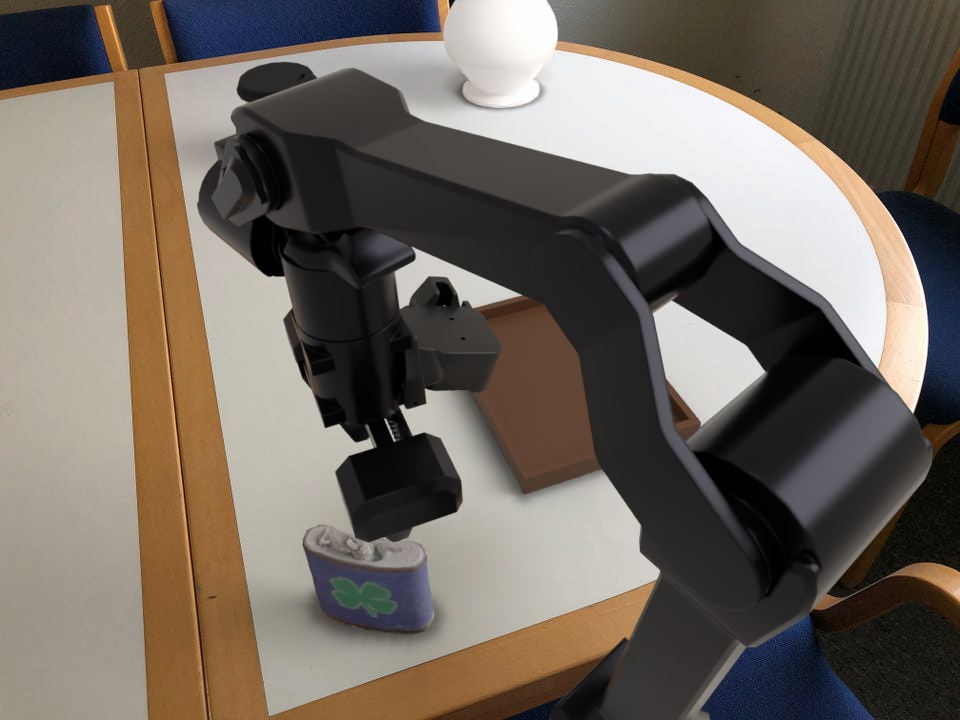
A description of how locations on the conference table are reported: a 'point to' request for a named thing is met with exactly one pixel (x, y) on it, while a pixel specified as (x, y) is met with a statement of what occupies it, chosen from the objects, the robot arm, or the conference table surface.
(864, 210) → the conference table surface
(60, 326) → the conference table surface
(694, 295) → the robot arm
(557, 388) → the serving tray
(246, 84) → the coffee cup
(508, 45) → the decorative vase
